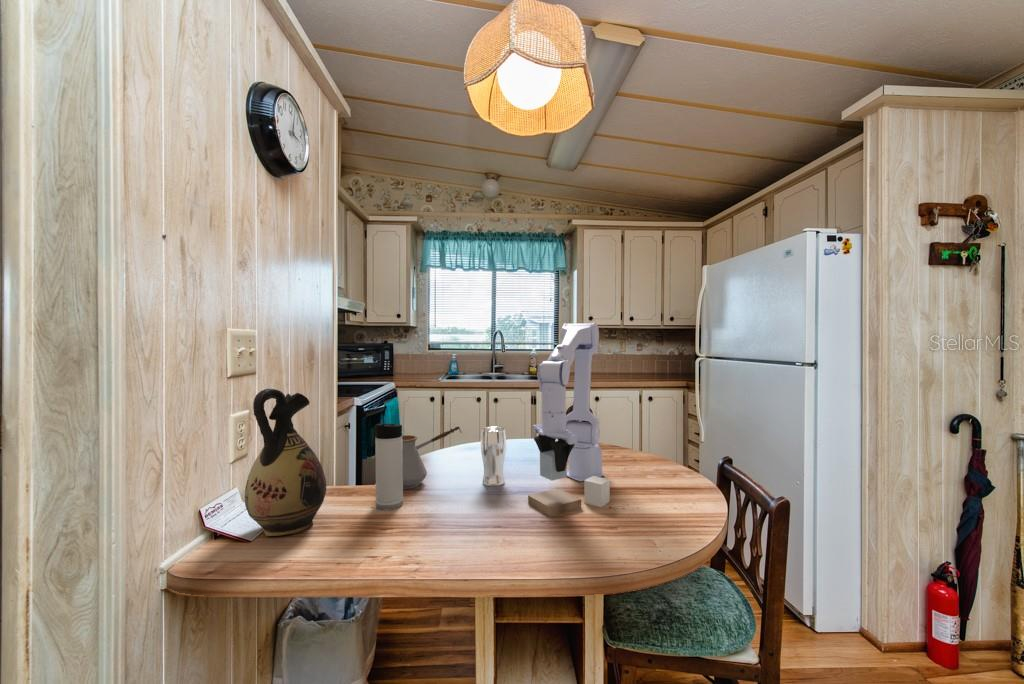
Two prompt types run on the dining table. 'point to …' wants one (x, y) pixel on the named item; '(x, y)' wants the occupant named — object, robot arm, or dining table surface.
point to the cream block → (596, 491)
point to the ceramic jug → (283, 470)
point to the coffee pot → (415, 459)
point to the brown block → (554, 502)
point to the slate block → (550, 466)
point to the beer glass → (493, 454)
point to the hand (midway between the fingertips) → (554, 468)
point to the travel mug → (389, 466)
